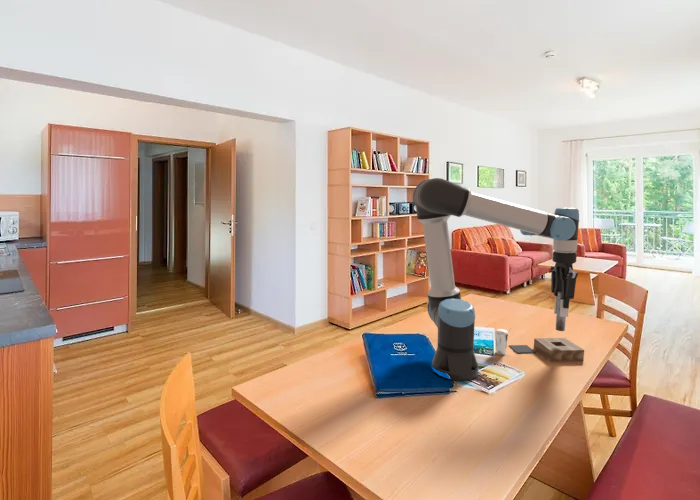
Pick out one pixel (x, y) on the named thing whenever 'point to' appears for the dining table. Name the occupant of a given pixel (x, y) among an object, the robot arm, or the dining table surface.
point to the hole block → (558, 349)
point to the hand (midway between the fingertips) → (560, 314)
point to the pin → (559, 320)
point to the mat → (522, 349)
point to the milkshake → (501, 341)
